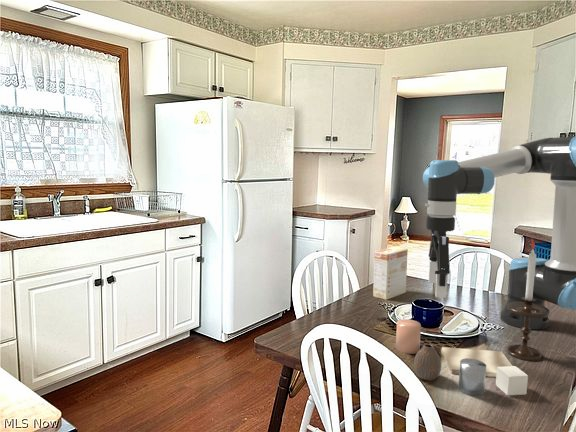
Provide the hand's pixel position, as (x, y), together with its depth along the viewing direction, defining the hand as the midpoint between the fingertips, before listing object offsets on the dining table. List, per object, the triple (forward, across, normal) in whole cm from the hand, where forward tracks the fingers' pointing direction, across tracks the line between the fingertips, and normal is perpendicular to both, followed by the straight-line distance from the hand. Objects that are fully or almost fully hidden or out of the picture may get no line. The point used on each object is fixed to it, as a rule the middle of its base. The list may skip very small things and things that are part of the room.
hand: (436, 289), depth 123 cm
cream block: (+21, +14, +17) cm, 30 cm away
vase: (+21, +12, -3) cm, 24 cm away
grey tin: (+21, +16, +7) cm, 27 cm away
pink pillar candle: (+21, -5, -7) cm, 22 cm away
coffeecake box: (+21, -58, -10) cm, 63 cm away
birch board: (+21, +1, +12) cm, 24 cm away
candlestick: (+21, -8, +27) cm, 35 cm away
